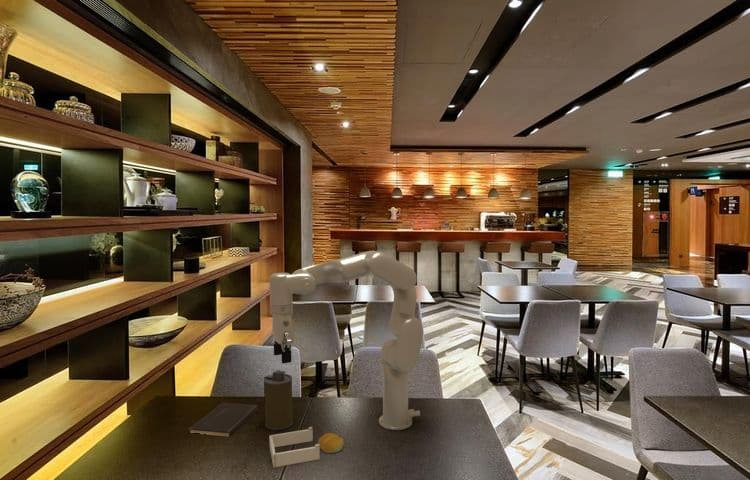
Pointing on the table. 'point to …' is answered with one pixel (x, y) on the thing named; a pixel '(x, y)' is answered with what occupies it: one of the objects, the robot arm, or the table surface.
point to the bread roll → (331, 443)
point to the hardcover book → (224, 419)
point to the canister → (278, 400)
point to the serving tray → (293, 455)
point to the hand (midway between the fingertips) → (282, 358)
